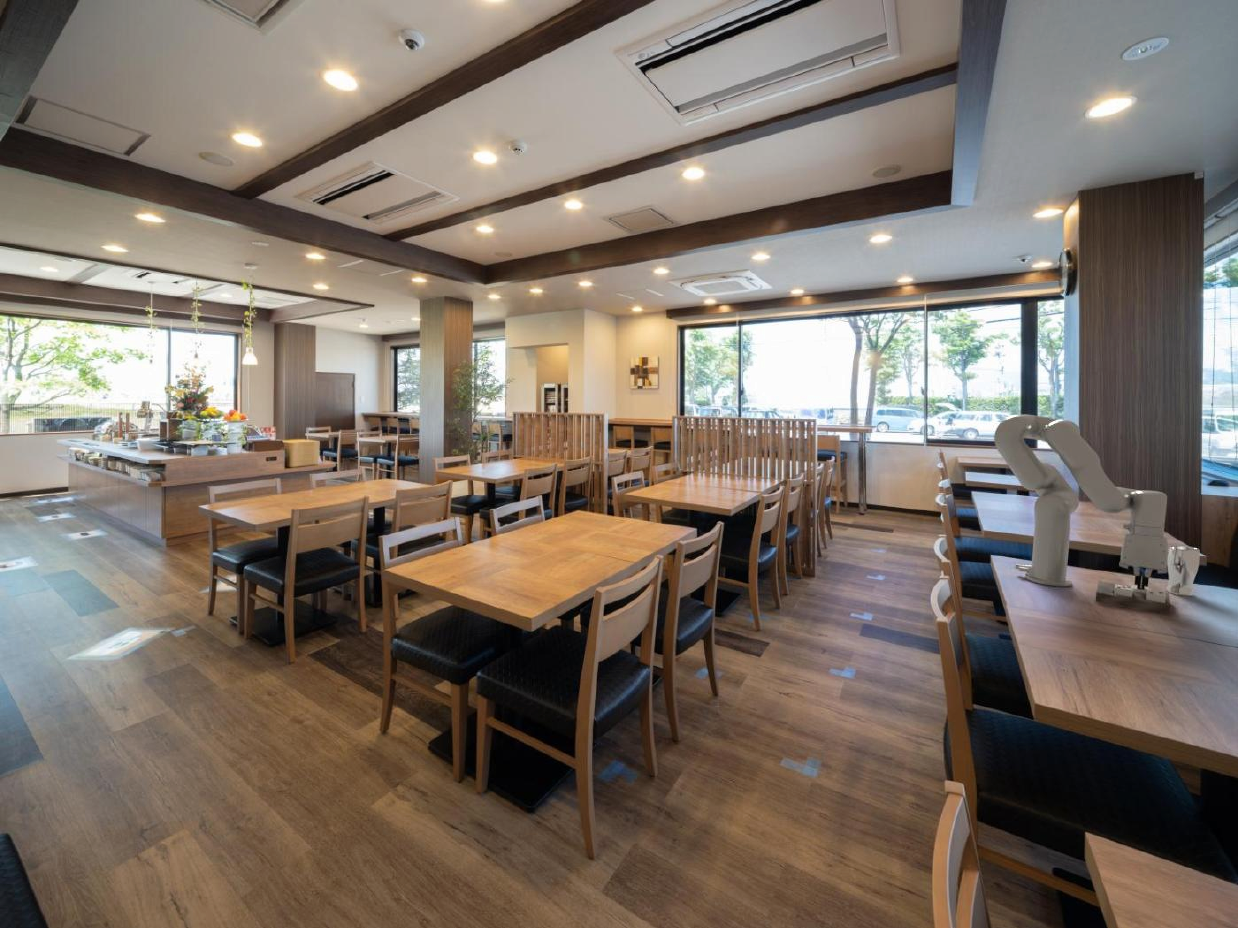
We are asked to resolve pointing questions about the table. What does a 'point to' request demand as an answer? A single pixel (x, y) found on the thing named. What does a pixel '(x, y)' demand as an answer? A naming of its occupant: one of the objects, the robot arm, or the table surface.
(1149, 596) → the tile two pips
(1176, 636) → the table surface
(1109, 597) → the button board
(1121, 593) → the tile three pips
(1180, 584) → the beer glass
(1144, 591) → the tile one pip
